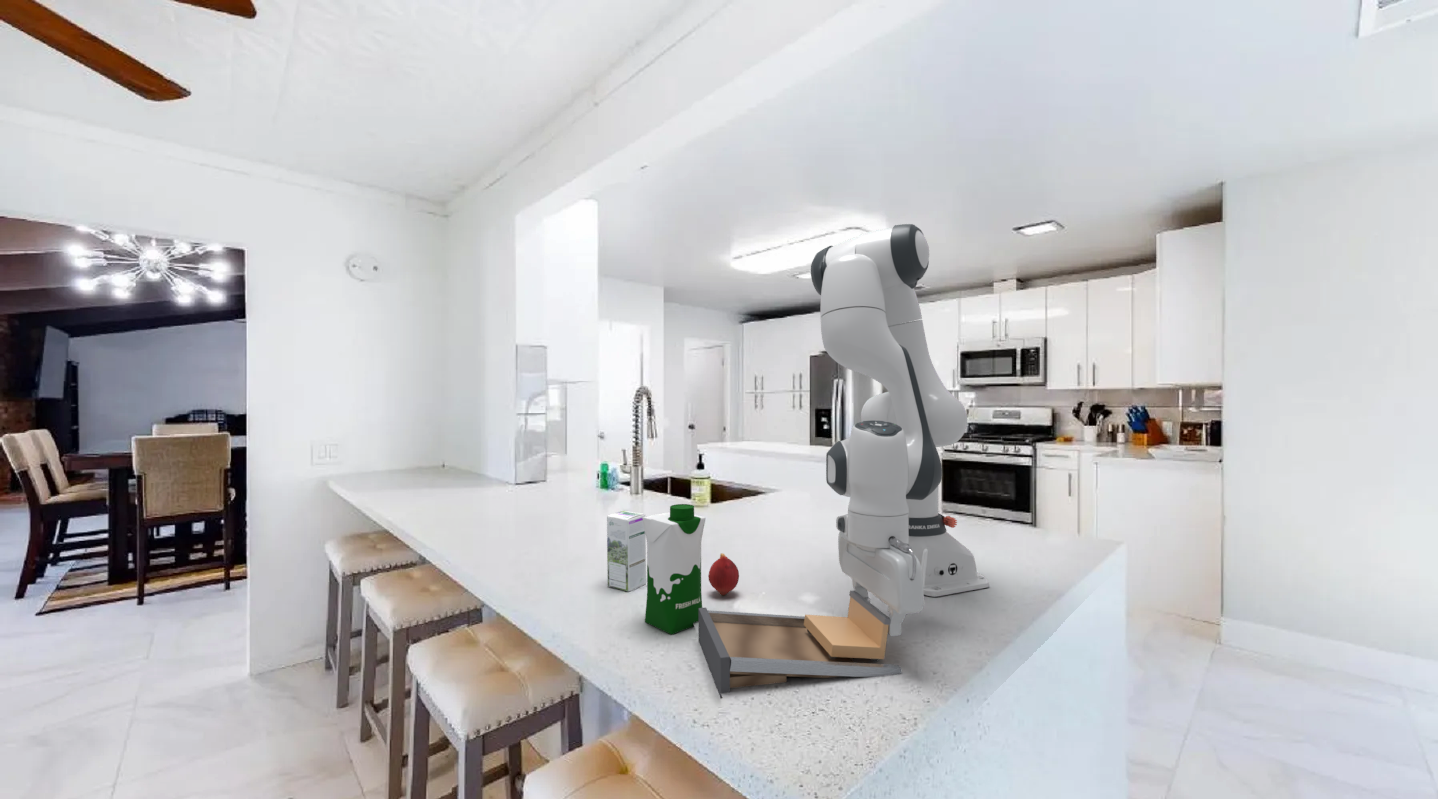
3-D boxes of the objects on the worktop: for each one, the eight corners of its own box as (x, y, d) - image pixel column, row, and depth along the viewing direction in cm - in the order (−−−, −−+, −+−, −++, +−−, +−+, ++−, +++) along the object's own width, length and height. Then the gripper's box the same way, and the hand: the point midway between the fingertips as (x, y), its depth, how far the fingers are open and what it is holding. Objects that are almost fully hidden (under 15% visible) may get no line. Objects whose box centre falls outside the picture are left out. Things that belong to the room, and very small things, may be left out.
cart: (854, 631, 92) (855, 590, 92) (890, 665, 80) (890, 618, 80) (803, 635, 90) (803, 593, 90) (832, 671, 79) (832, 623, 79)
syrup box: (647, 584, 116) (647, 512, 116) (627, 592, 111) (627, 518, 111) (625, 579, 119) (625, 509, 119) (605, 587, 114) (605, 514, 114)
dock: (848, 632, 95) (848, 596, 94) (901, 684, 78) (901, 640, 78) (698, 646, 90) (698, 608, 89) (720, 704, 73) (720, 657, 73)
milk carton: (670, 638, 90) (670, 512, 90) (636, 622, 97) (636, 504, 97) (711, 622, 97) (711, 504, 96) (676, 608, 103) (676, 497, 103)
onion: (739, 590, 112) (739, 549, 112) (737, 601, 107) (737, 558, 106) (710, 589, 113) (710, 548, 113) (706, 599, 107) (706, 557, 107)
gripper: (936, 546, 77) (935, 649, 77) (866, 514, 97) (866, 596, 97) (893, 549, 75) (892, 653, 75) (831, 516, 95) (831, 598, 95)
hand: (877, 621), depth 86 cm, fingers open, 8 cm apart
